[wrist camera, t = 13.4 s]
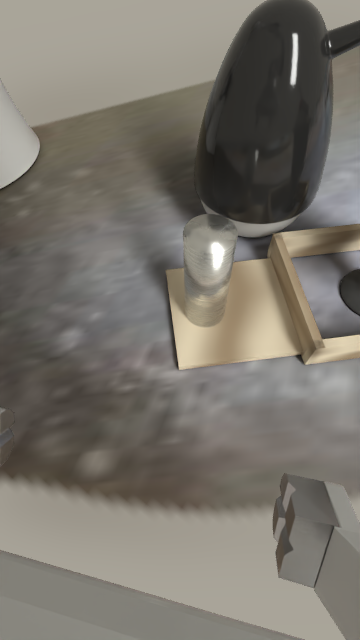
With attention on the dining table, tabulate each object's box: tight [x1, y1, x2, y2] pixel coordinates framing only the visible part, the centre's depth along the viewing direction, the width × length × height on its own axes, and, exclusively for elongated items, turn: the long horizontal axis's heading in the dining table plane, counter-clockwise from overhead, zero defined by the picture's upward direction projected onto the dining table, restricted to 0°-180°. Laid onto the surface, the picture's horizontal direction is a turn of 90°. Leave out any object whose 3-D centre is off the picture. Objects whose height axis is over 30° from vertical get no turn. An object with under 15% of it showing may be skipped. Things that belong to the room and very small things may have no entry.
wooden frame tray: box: [166, 214, 360, 370], centre depth 22 cm, size 19×10×8 cm, turn 97°
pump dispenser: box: [194, 0, 360, 237], centre depth 25 cm, size 10×10×15 cm
